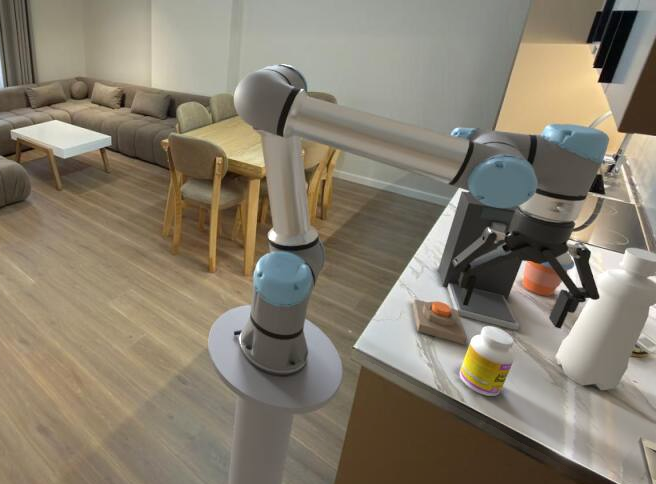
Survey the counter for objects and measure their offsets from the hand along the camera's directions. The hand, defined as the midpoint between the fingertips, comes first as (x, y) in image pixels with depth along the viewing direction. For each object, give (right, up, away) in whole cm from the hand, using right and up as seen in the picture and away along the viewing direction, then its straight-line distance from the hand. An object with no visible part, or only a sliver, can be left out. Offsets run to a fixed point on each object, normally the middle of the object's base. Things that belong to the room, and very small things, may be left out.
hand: (507, 311), depth 75 cm
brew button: (+2, -8, +20) cm, 22 cm away
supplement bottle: (0, -17, +6) cm, 18 cm away
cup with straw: (+39, -7, +33) cm, 52 cm away
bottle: (+23, -17, +7) cm, 29 cm away
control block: (+2, -11, +21) cm, 24 cm away
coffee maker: (+19, -8, +30) cm, 37 cm away
